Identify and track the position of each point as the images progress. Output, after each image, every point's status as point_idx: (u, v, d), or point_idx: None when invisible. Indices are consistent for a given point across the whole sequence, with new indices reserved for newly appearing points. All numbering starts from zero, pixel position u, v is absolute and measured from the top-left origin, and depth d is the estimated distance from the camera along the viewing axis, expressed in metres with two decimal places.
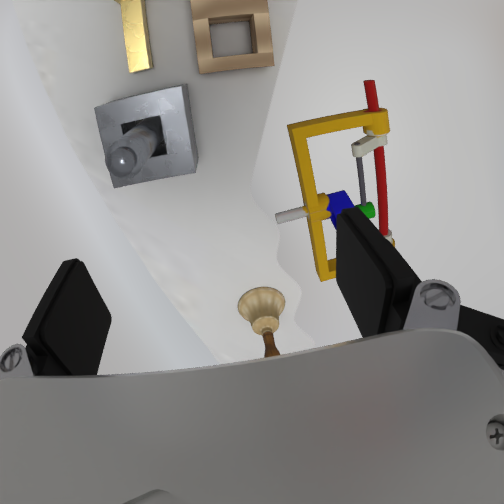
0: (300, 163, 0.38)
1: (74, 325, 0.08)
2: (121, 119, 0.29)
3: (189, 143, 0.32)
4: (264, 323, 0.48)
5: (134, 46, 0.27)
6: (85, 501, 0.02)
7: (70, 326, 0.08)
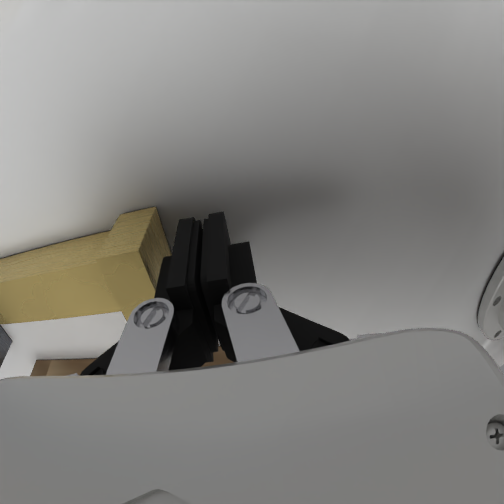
0: None
1: None
2: None
3: None
4: None
5: (3, 302, 0.11)
6: (85, 501, 0.02)
7: None
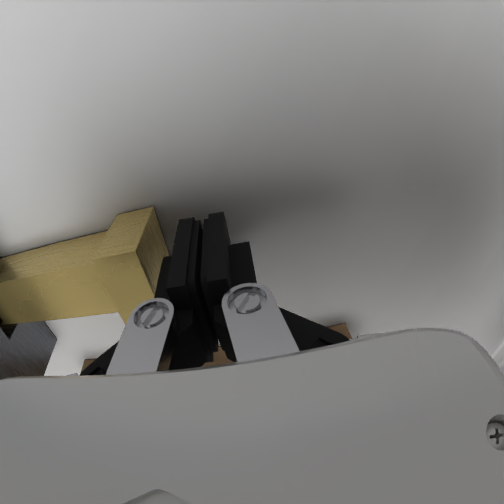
0: None
1: None
2: None
3: None
4: None
5: (0, 303, 0.11)
6: (85, 501, 0.02)
7: None
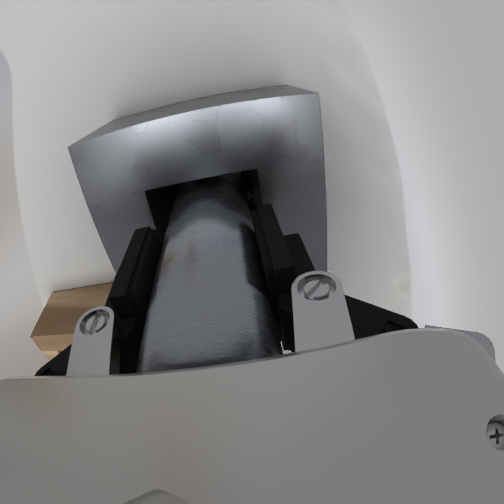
0: None
1: None
2: None
3: (95, 220, 0.12)
4: None
5: None
6: (85, 501, 0.02)
7: None
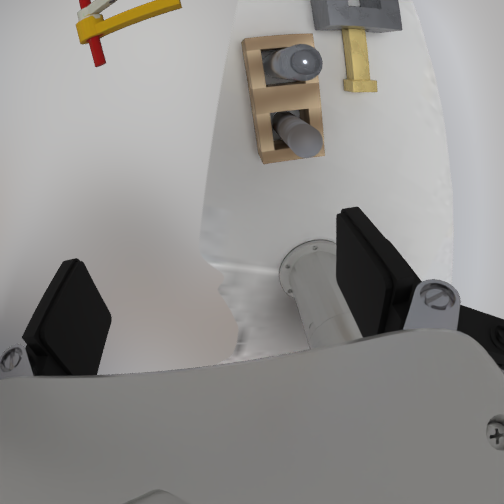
0: None
1: (74, 325, 0.08)
2: (380, 12, 0.26)
3: None
4: None
5: (358, 33, 0.31)
6: (85, 501, 0.02)
7: (70, 326, 0.08)
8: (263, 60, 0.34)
